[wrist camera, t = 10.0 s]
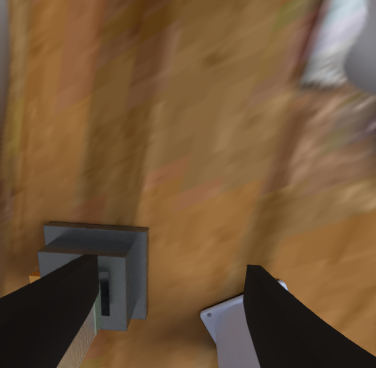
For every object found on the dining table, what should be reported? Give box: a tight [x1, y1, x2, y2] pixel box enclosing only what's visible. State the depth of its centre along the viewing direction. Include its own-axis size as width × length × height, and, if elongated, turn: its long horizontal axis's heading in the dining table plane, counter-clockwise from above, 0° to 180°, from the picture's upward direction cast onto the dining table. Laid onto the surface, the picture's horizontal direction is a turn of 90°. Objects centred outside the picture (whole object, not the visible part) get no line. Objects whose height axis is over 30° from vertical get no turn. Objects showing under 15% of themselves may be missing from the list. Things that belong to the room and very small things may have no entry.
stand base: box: [29, 222, 149, 331], centre depth 20 cm, size 10×10×4 cm
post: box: [57, 283, 102, 368], centre depth 14 cm, size 4×4×6 cm
